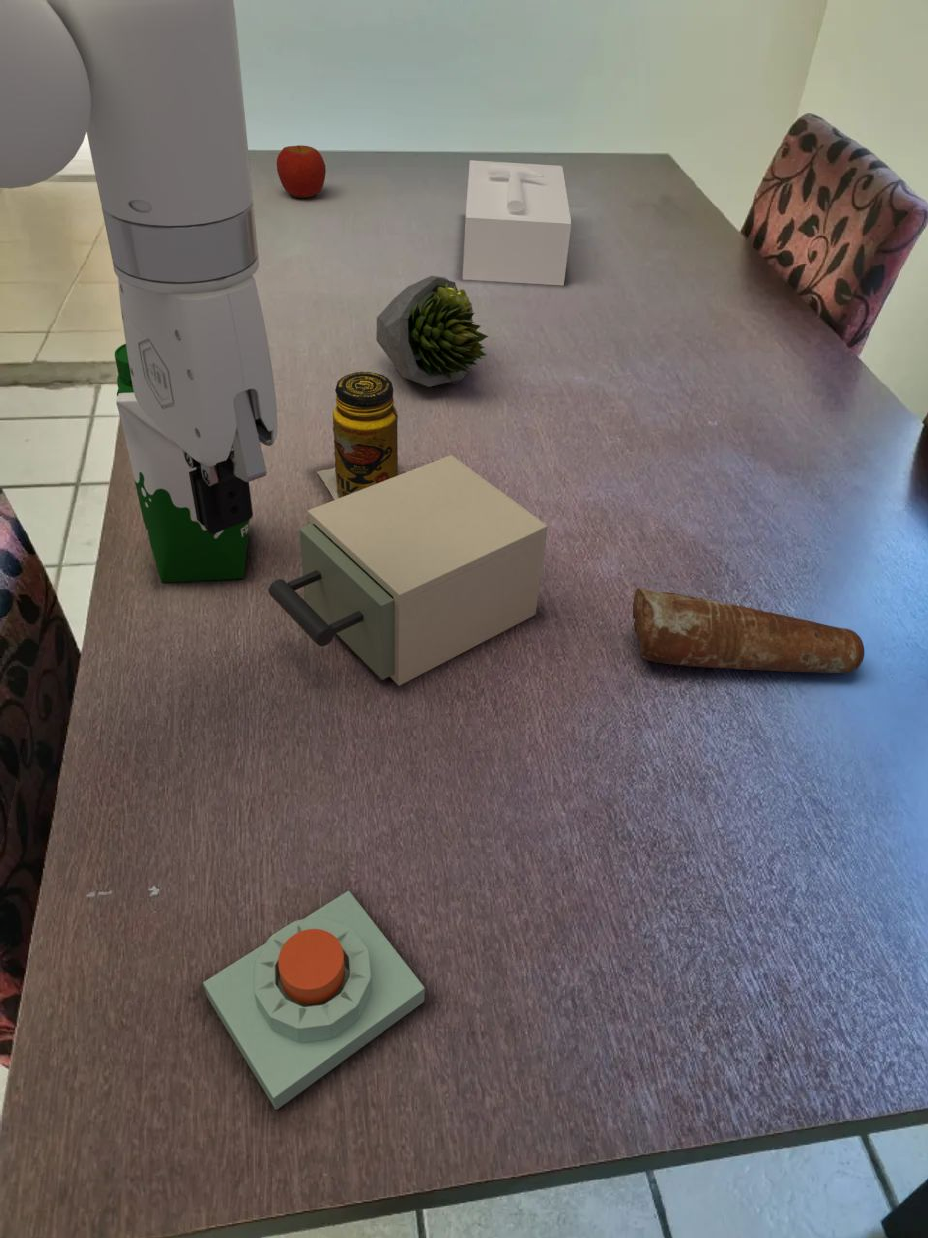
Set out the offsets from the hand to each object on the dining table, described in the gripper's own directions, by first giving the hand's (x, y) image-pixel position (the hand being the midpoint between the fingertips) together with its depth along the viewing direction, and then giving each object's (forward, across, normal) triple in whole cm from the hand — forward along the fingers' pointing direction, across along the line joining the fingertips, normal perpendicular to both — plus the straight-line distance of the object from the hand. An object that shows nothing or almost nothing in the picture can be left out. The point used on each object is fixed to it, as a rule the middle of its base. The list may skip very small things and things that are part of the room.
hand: (225, 520), depth 61 cm
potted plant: (+17, -32, +43) cm, 57 cm away
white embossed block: (+17, -58, +78) cm, 98 cm away
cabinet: (+17, 0, +17) cm, 24 cm away
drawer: (+16, 0, +13) cm, 21 cm away
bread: (+17, +20, +35) cm, 44 cm away
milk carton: (+17, -17, +5) cm, 25 cm away
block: (+17, +24, -9) cm, 30 cm away
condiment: (+17, -18, +23) cm, 34 cm away
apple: (+17, -94, +63) cm, 114 cm away
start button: (+14, +24, -9) cm, 29 cm away
